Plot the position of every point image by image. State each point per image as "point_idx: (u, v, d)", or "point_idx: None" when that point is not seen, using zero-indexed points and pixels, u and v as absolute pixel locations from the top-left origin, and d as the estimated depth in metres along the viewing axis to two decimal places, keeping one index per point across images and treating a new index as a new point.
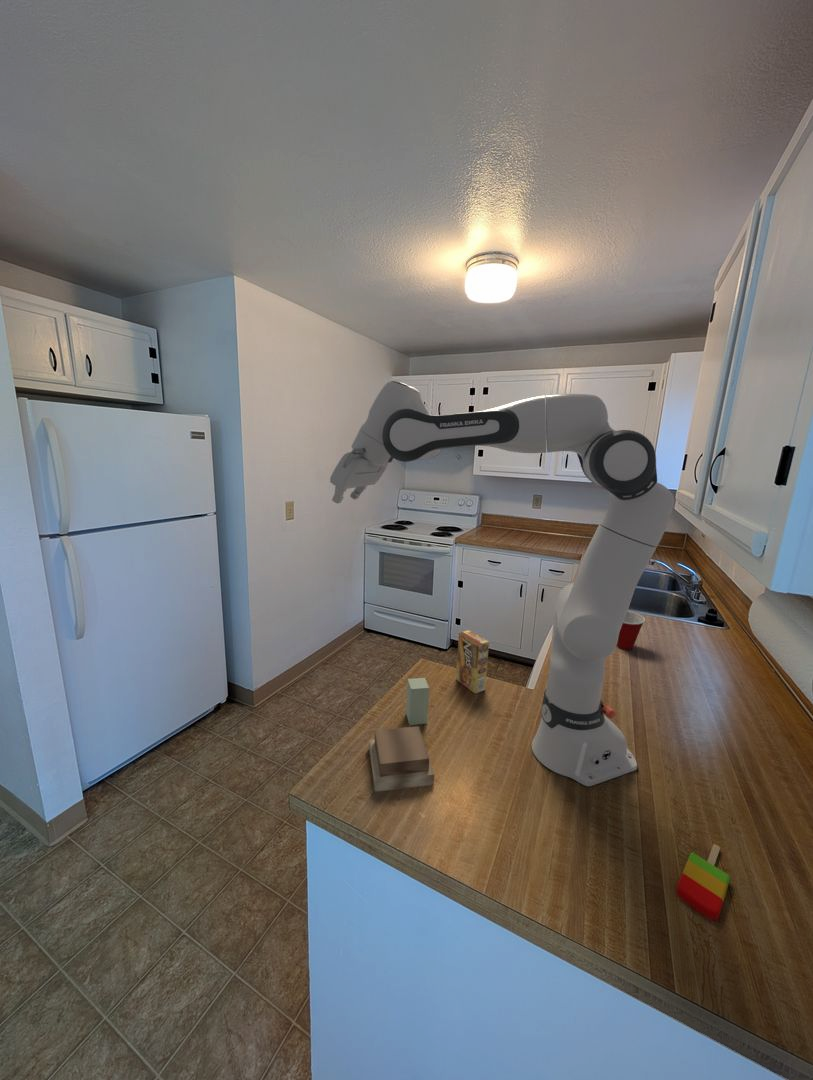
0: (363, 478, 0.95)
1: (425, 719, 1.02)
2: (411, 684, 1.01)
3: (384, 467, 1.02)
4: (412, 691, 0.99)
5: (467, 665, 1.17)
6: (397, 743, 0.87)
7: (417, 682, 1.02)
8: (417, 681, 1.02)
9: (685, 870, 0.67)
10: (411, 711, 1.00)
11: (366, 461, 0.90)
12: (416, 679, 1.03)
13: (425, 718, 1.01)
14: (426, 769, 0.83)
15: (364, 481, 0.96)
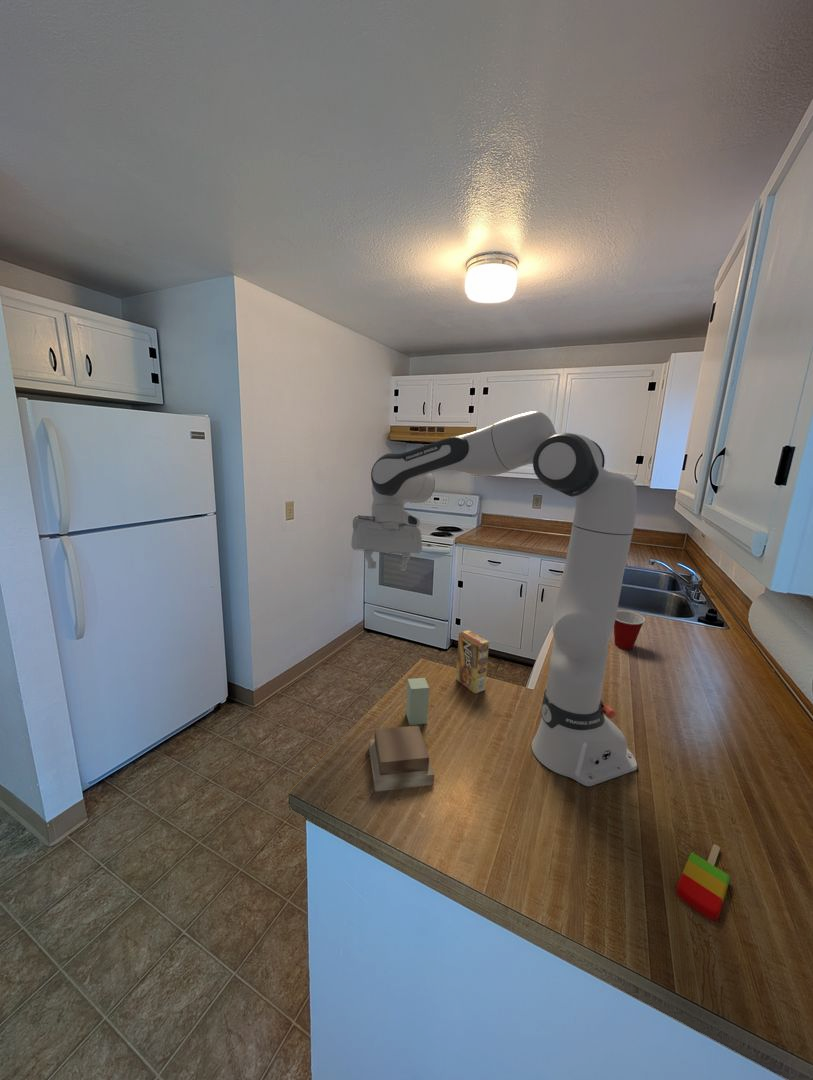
0: (388, 541, 1.08)
1: (425, 719, 1.02)
2: (411, 684, 1.01)
3: (416, 533, 1.12)
4: (412, 691, 0.99)
5: (467, 664, 1.17)
6: (398, 741, 0.87)
7: (417, 682, 1.02)
8: (417, 681, 1.02)
9: (685, 870, 0.67)
10: (411, 711, 1.00)
11: (377, 523, 1.07)
12: (416, 679, 1.03)
13: (425, 718, 1.01)
14: (426, 768, 0.84)
15: (393, 545, 1.08)
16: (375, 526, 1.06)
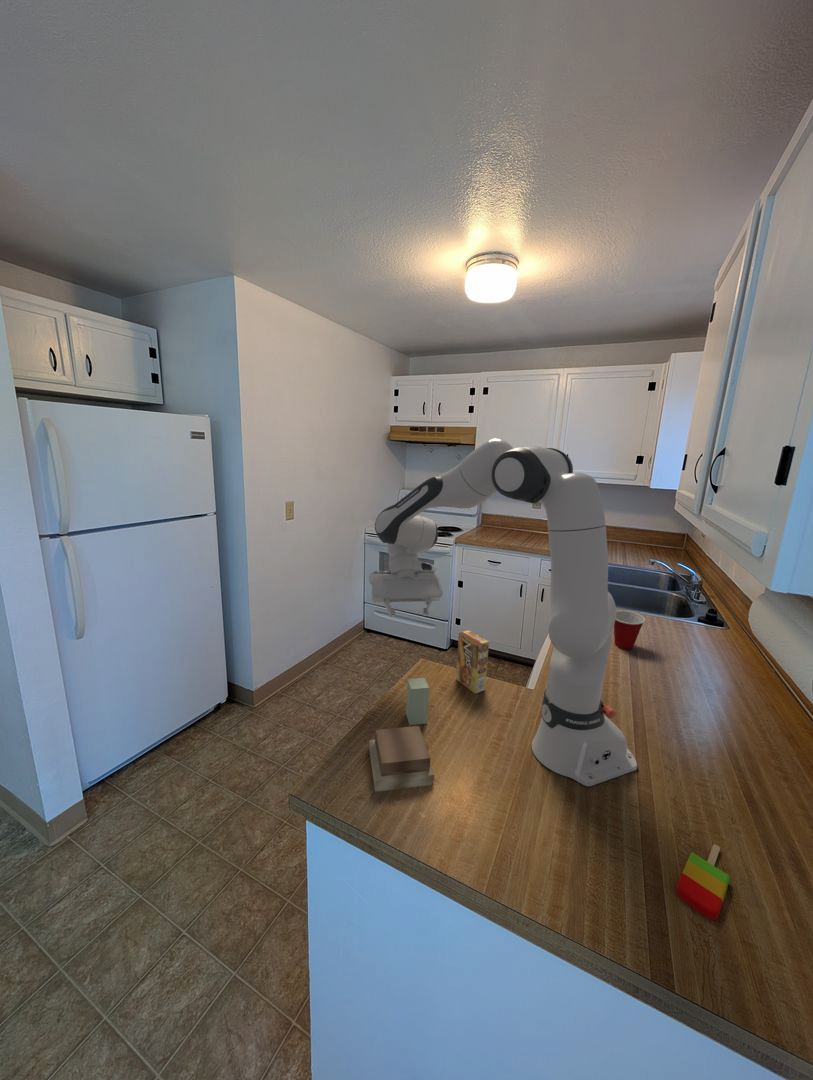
0: (405, 589, 1.14)
1: (425, 719, 1.02)
2: (411, 684, 1.01)
3: (434, 578, 1.17)
4: (412, 691, 0.99)
5: (467, 665, 1.17)
6: (398, 742, 0.87)
7: (417, 682, 1.02)
8: (416, 681, 1.02)
9: (685, 870, 0.67)
10: (411, 711, 1.00)
11: (392, 574, 1.16)
12: (416, 679, 1.03)
13: (425, 718, 1.01)
14: (427, 769, 0.84)
15: (410, 591, 1.14)
16: (390, 577, 1.15)
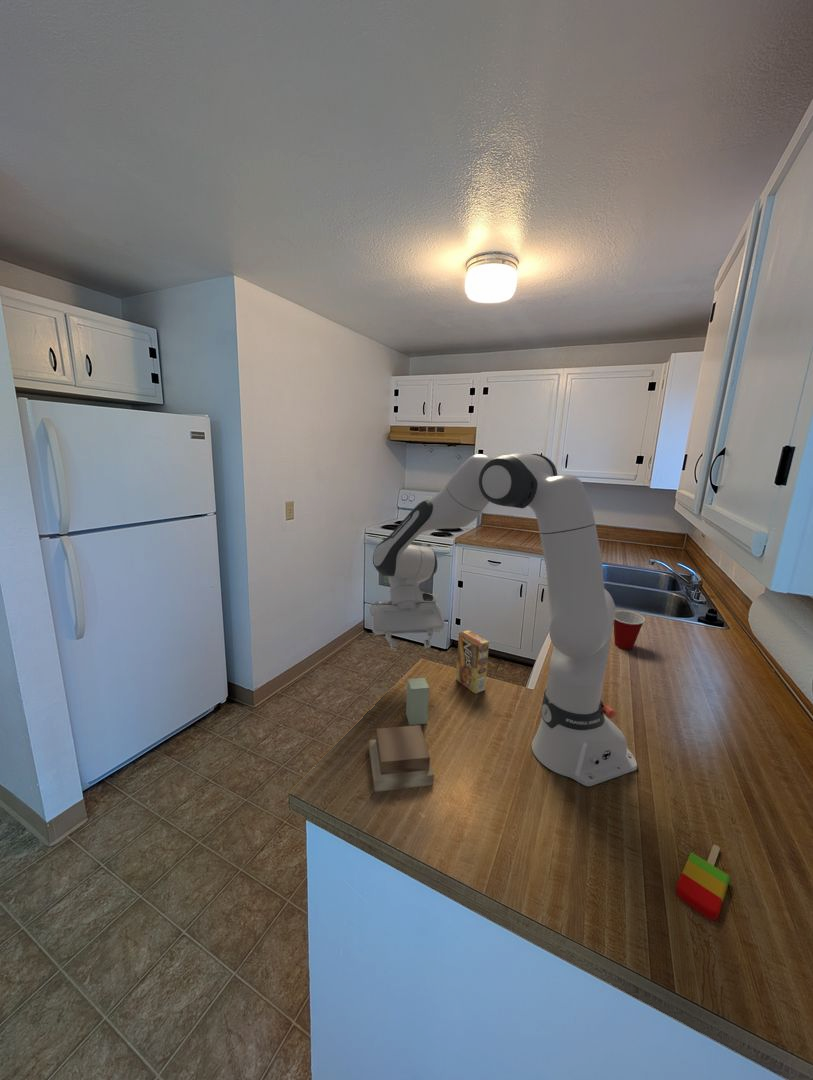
0: (406, 620, 1.13)
1: (425, 719, 1.02)
2: (411, 684, 1.01)
3: (435, 608, 1.16)
4: (412, 691, 0.99)
5: (467, 664, 1.17)
6: (399, 741, 0.88)
7: (417, 682, 1.02)
8: (416, 681, 1.02)
9: (685, 870, 0.67)
10: (411, 711, 1.00)
11: (393, 606, 1.15)
12: (416, 679, 1.03)
13: (425, 718, 1.01)
14: (427, 768, 0.84)
15: (412, 623, 1.13)
16: (391, 608, 1.14)
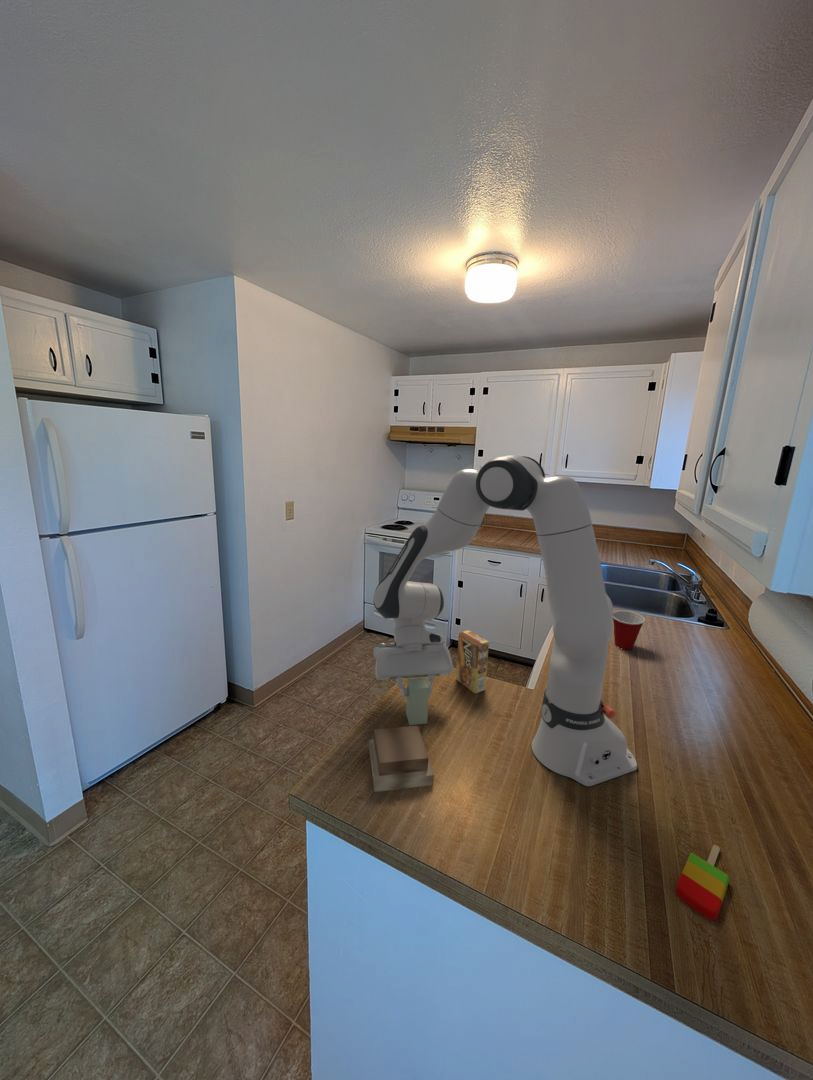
0: (412, 664, 1.05)
1: (425, 719, 1.02)
2: (411, 684, 1.01)
3: (443, 650, 1.08)
4: (412, 691, 0.99)
5: (467, 665, 1.17)
6: (397, 742, 0.87)
7: (417, 682, 1.02)
8: (417, 681, 1.02)
9: (684, 870, 0.67)
10: (411, 711, 1.00)
11: (397, 648, 1.06)
12: (416, 679, 1.03)
13: (425, 718, 1.01)
14: (425, 769, 0.84)
15: (418, 668, 1.04)
16: (395, 651, 1.06)
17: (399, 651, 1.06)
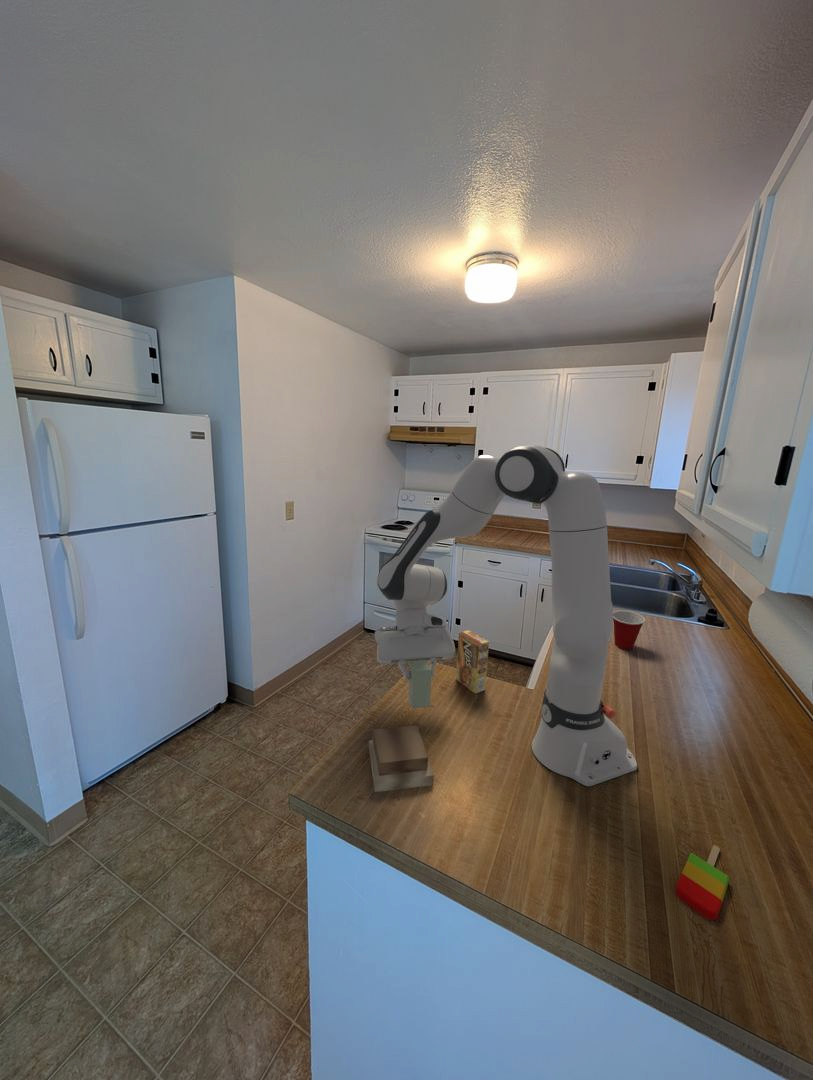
0: (414, 648, 1.04)
1: (428, 702, 1.00)
2: (413, 667, 0.99)
3: (445, 633, 1.06)
4: (414, 673, 0.98)
5: (467, 664, 1.17)
6: (396, 742, 0.87)
7: (419, 665, 1.01)
8: (419, 663, 1.01)
9: (684, 870, 0.67)
10: (414, 694, 0.99)
11: (399, 631, 1.05)
12: (418, 662, 1.02)
13: (428, 701, 1.00)
14: (425, 768, 0.84)
15: (420, 651, 1.03)
16: (397, 635, 1.05)
17: (400, 634, 1.05)
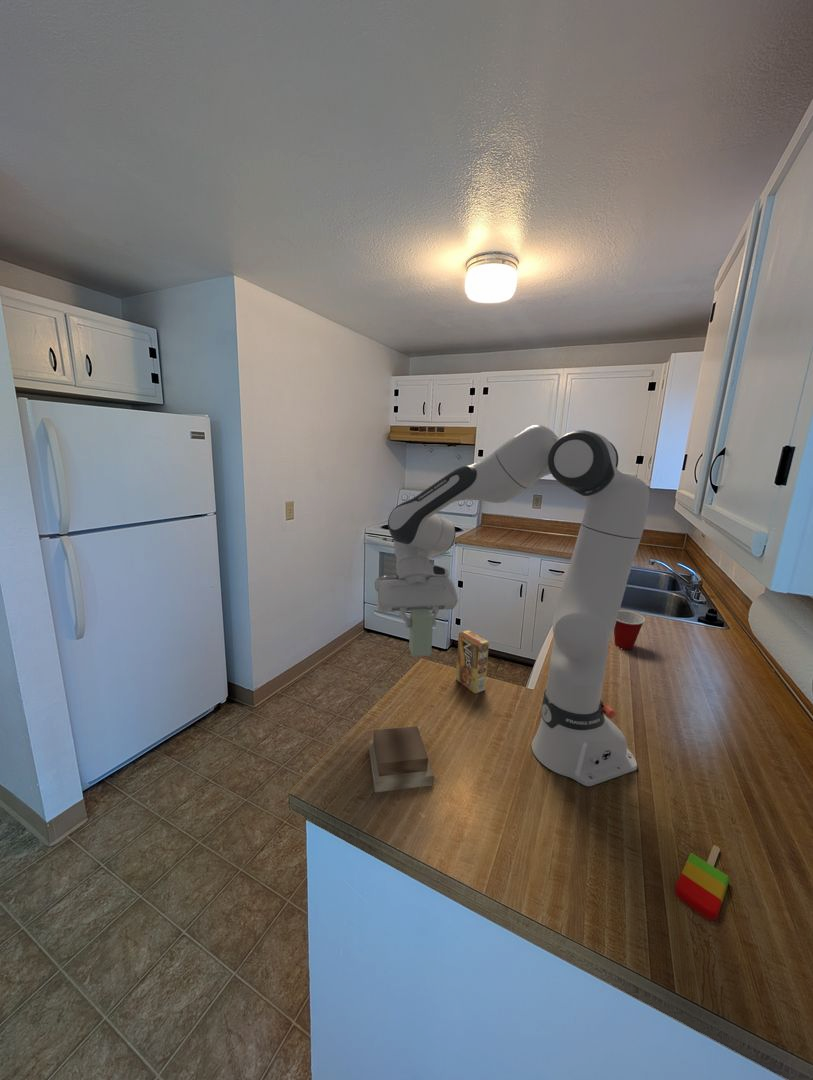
0: (415, 596, 1.00)
1: (429, 650, 0.97)
2: (414, 613, 0.96)
3: (448, 583, 1.03)
4: (415, 619, 0.95)
5: (467, 665, 1.17)
6: (396, 742, 0.87)
7: (420, 612, 0.97)
8: (420, 611, 0.98)
9: (684, 870, 0.67)
10: (414, 641, 0.96)
11: (400, 580, 1.02)
12: (419, 610, 0.99)
13: (429, 649, 0.97)
14: (425, 769, 0.84)
15: (421, 599, 1.00)
16: (398, 583, 1.01)
17: (402, 583, 1.02)
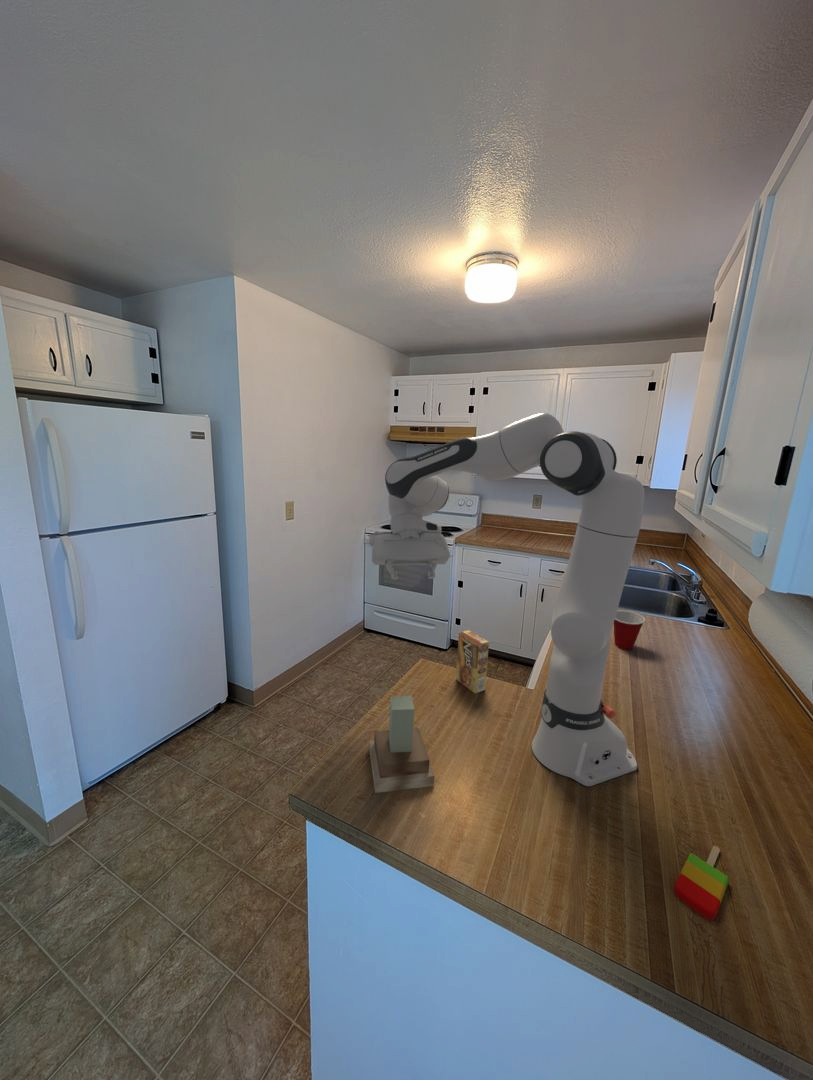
0: (408, 549, 1.04)
1: (410, 746, 0.84)
2: (393, 704, 0.84)
3: (440, 539, 1.07)
4: (393, 712, 0.82)
5: (467, 664, 1.17)
6: None
7: (401, 701, 0.85)
8: (401, 699, 0.85)
9: (683, 870, 0.67)
10: (392, 736, 0.83)
11: (394, 535, 1.06)
12: (401, 697, 0.86)
13: (410, 745, 0.84)
14: (426, 771, 0.83)
15: (414, 552, 1.04)
16: (392, 537, 1.05)
17: (395, 537, 1.05)
